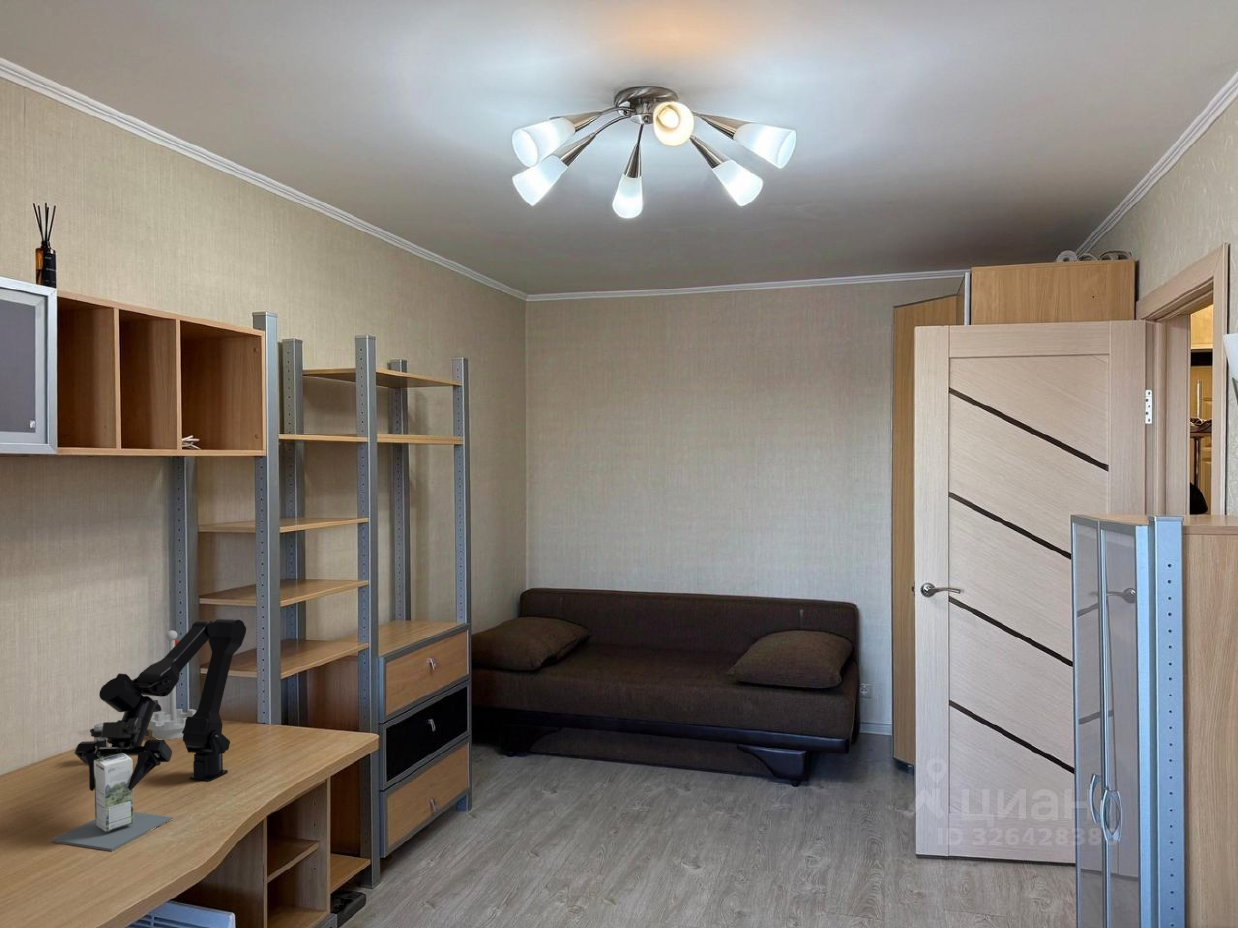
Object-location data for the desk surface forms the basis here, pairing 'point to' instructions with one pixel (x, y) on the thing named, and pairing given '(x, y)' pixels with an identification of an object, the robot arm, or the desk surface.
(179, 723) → the flag stand
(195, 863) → the desk surface
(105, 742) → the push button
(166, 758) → the robot arm
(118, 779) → the syrup box
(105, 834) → the slate mat
